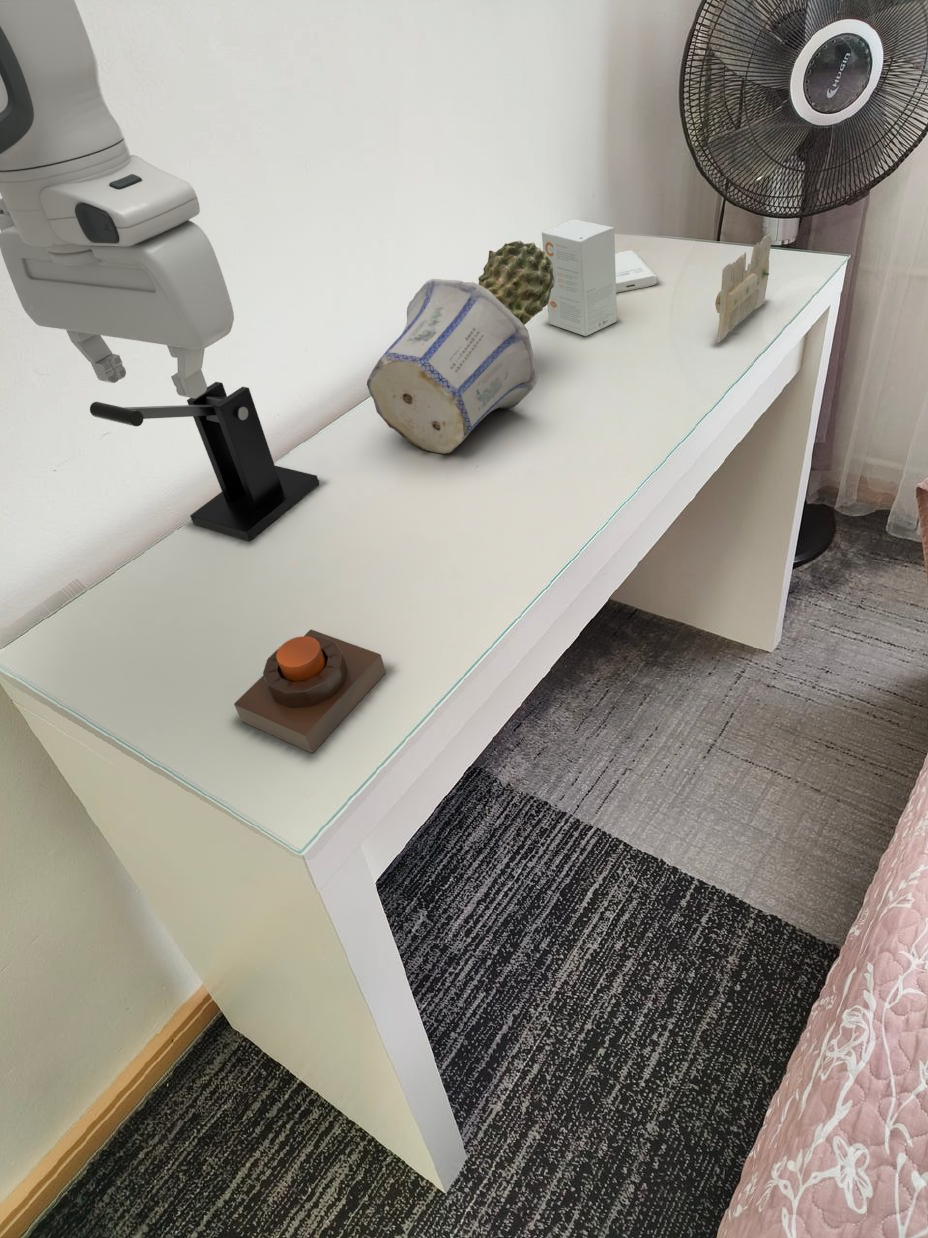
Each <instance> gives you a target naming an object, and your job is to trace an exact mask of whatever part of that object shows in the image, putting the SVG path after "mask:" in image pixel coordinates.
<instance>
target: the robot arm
mask: <svg viewBox="0 0 928 1238" xmlns="http://www.w3.org/2000/svg"><path fill="white" fill-rule="evenodd" d="M124 135H125V134H124V133H123V130H122V128H121V126H120V125H119V123H118V122H117V120H116V119H115V117H114V116H113V114H112V112H111V111H110V108H109V106H108V105H107V103H106V100H105V98H104V94H103V91H102V87H101V83H100V76H99V65H98V60H97V57H96V54H95V52H94V49H93V45H92V43H91V40H90V38H89V34H88V32H87V29H86V27H85V24H84V22H83V18H82V15H81V13H80V11H79V8H78V6H77V3H76V1H75V0H0V195H1V198H0V252H1V257H2V259H3V261H4V263H5V267H6V269H7V272H8V275H9V278H10V280H11V283H12V285H13V288H14V290H15V292H16V295H17V298H18V300H19V302H20V304H21V307H22V308H23V311H24V312H25V313H26V314H27V316H28V317H29V319H31V320H32V321H33V322H34V323H35V324H36V325H37V326H38V327H44V328H51V329H56V330H57V329H58V330H64V331H66V334H67V335H68V337H69V340H70V342H71V343H72V344H73V345H74V346H75V348H76V349H77V350H78V352H80V353H81V354H82V356H84V358H85V359H86V360H87V361H88V362H89V363H90V364H91V367H92V369H93V371H94V374H95V376H96V378H97V380H99V381H100V382H104V383H111V384H114V383H117V382H118V381H119V380H122V379H124V378H125V377H126V375H127V370H126V368H125V366H123V361H122V358H121V356H120V354H116V353H113V352H112V350H111V348H110V347H109V346H108V344H107V343H106V341H105V339H104V338H103V337H102V336H104V337H109V338H117V339H123V340H130V341H136V342H142V343H149V344H156V345H163V346H166V347H167V349H168V352H169V354H170V356H171V357H172V358H174V359H176V361H177V362H176V363H177V372H176V373H174V374H173V375H171V376H170V377H171V381H172V383H173V385H174V387H175V391H176V393H177V395H178V396H180V397H184V398H188V399H190V398H195V399H196V398H197V397H199V396H200V395H202V394H203V393H205V392H206V390H207V387H208V385H207V384H208V383H207V382H206V379H205V376H204V373H203V370H202V369H203V364H204V363H203V362H204V355H205V349H206V348H208V347H210V346H212V345H214V344H215V343H217V342H219V341H220V340H222V339H223V338H226V336H228V335H229V334H230V333H231V331H232V328H233V325H234V321H235V314H234V313H235V312H234V309H233V308H234V307H233V304H232V301H231V296H230V294H229V290H228V287H227V283H226V281H225V277H224V275H223V272H222V269H221V266H220V263H219V260H218V258H217V255H216V252H215V250H214V247H213V245H212V242H211V241H210V239H209V237H208V235H207V234H206V233H205V232H204V230H203V229H202V227H200V226H199V225H198V224H197V223H195V222H193V221H192V220H191V219H193V218H195V217H197V216H198V215H199V214H200V212H201V208H200V203H199V199H198V196H197V193H196V191H195V189H194V187H193V186H192V185H191V183H189V182H188V181H186V180H184V179H182V178H180V177H178V176H176V175H173V174H171V173H169V172H167V171H165V170H163V169H161V168H159V167H157V166H155V165H152V164H151V163H150V162H147V161H146V160H145V159H143V158H141V157H140V156H138V155H136V154H131V153H130V150H129V147H128V143H127V141H126V139H125V136H124Z"/></svg>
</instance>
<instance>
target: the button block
mask: <svg viewBox="0 0 928 1238" xmlns="http://www.w3.org/2000/svg"><path fill="white" fill-rule="evenodd" d="M303 636H308V637H312V638H314V639H316V640H317V641H318V642H319V644H320V647H321V650H322V653H323V656H324V659H325V665H324V667H323V669H322V671H321V672H320V673H319V674H318V675H316V676H315V677H312V678H310V679H308V680H306V681H300V682H295V681H290V680H288V679H286V678H285V677H284V675H283V673H282V671H281V668H280V666H279V663H278V661H277V657H276V655H277V651H278V649H279V648H280V647H281V646H282V645H281V646H279V647H278V648H276V650H275V651H274V652H272V654H271V655H270V656H269V657H268V658H267V659H266V662H265V665H264V669H263V672H262V676H261V677H260V678H259V679H258V680H257V681H256V682H255V683H254V684H253V685H251V686H250V688H249V689H247V690H246V691H245V692H244V693H243V694H242V695H241V696H240V697H239V698H238V699H237V700H236V701H235V702H234V703H233V705H234V707H235V710H236V712H237V714H238V715H239V718H240V720H241V722H242V723H244V724H247V725H249V726H251V727H254V728H255V729H257V730H260V731H262V732H264V733H266V734H269V735H271V736H273V737H276V738H278V739H279V740H282V741H284V742H285V743H286V742H287V743H289V744H291V745H293V746H295V747H298V748H299V749H302V750H304V751H307V752H308V753H311V754H314V753H315V752H316V751H317V750H318V749H319V747H320V746H321V745H322V744H323V743H324V742H325V741H326V740H327V738H328V737H329V736H330V735H331V734H332V733H333V732H334V731H335V730H336V729H337V728H338V726H339V725H340V724H341V723H342V722H343V721H344V720H345V719H346V718H347V716H348V715H349V714H351V712H352V711H353V710H354V709H355V708H356V706H357V705H359V703H360V702H361V701H362V700H363V699H364V698H365V697H366V696H367V694H368V693H369V692H370V691H371V690H372V689H373V688H374V686H375V685H376V684H377V683H379V681H380V680H381V679H382V678H383V677H384V675H385V674H386V673H387V671H386V667H385V664H384V661H383V657H382V654H380V653H378V652H376V651H372V650H370V649H368V648H364V647H361V646H359V645H356V644H354V643H350V642H347V641H344V640H342V639H339V638H336V637H333V636H332V635H331V636H330V635H328V634H325V633H322V632H320V631H316V630H315V629H309V630H308V631H307V632H306V633H305V634H304V635H303Z"/></svg>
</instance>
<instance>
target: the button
mask: <svg viewBox="0 0 928 1238" xmlns="http://www.w3.org/2000/svg"><path fill="white" fill-rule="evenodd" d="M279 647H280V646H279ZM279 647H278V648H279ZM278 648H277V649H278ZM276 657H277V661H278V663H279V666H280V668H281V671H282V673H283V675H284V677H285V678H286V679H288V680H290V681H295V682H300V681H306V680H308V679H310V678H312V677H315V676H316V675H318V674H319V673H320V672H321V671H322V669H323V667H324V665H325V659H324V656H323V653H322V650H321V647H320V644H319V642H318V641H317V640H316V639H314V638H312V637H308V636H304V635H303V636H296V637H293V638H291V639H288V640H286V641H285V642H284V643H282V645H281V647H280V648H279V649H278V651H277V655H276Z"/></svg>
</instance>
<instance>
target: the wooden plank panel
mask: <svg viewBox="0 0 928 1238" xmlns="http://www.w3.org/2000/svg"><path fill="white" fill-rule="evenodd" d="M771 246H772V234H771V233H768V234H766V235H765V236H763V237H762V238H761V240H760V242H759V241H757V243H756V244H755V245H754V246H753V249H752V253H751V258H750V262H749V263H748V264H747V252H746V251H745V252H744V253H743V254H741V255H740V256H739V257H737V259H735V261H732V262H730V263H727V264H726V265H725V266H724V267H723V268H722V273H721V287H720V288H721V289H720V291H719V292H718V293H717V294H716V298H715V301H714V302H715V303H714V305H715V311H716V313H717V314H719V318H718V319H719V320H718V330H717V343H720V342H721V341H722V340H723V339H725V337H726V336H727V335H728V333H730V332H731V331H732V330H733V329H734V328H735V327H736V326H737V325H739V324H740V323H741V322H742V321H744V320H746V317H748V316H749V315H750V314H752V312H754V311H755V310H758V309H759V308H760V307H761V306H763V305H764V303H765V299H766V293H767V287H768V280H769V275H770V273H769V272H770V254H771V253H770V252H771ZM746 267H747V268H746Z"/></svg>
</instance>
